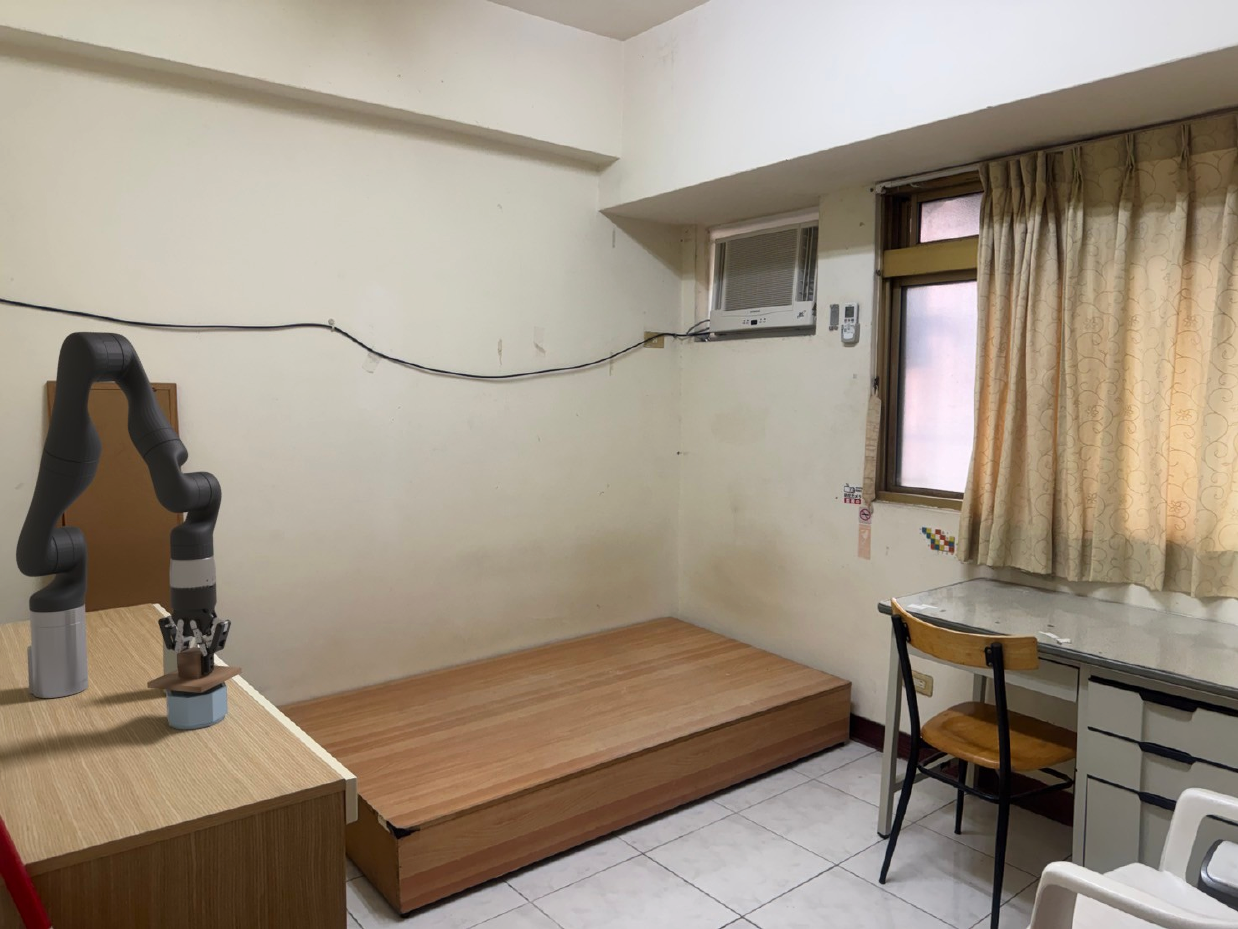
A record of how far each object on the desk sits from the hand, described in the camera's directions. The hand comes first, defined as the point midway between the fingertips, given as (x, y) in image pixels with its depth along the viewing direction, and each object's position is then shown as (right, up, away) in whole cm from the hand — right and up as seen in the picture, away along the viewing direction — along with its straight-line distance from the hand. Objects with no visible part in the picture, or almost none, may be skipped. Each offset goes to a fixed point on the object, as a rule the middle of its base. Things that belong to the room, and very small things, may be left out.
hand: (196, 672), depth 152 cm
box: (-11, -8, +16) cm, 21 cm away
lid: (0, -1, 0) cm, 1 cm away
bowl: (0, -9, +1) cm, 9 cm away
